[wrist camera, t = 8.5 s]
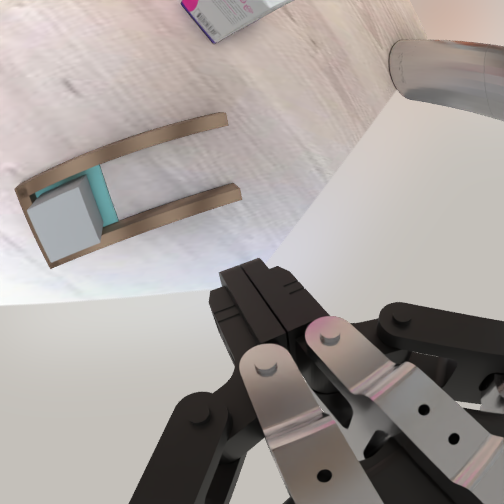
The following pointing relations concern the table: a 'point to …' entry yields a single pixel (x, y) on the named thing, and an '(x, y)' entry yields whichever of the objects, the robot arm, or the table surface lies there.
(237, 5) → the supplement box
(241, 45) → the table surface
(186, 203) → the wooden u-shaped frame
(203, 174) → the table surface
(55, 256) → the block
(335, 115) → the table surface
